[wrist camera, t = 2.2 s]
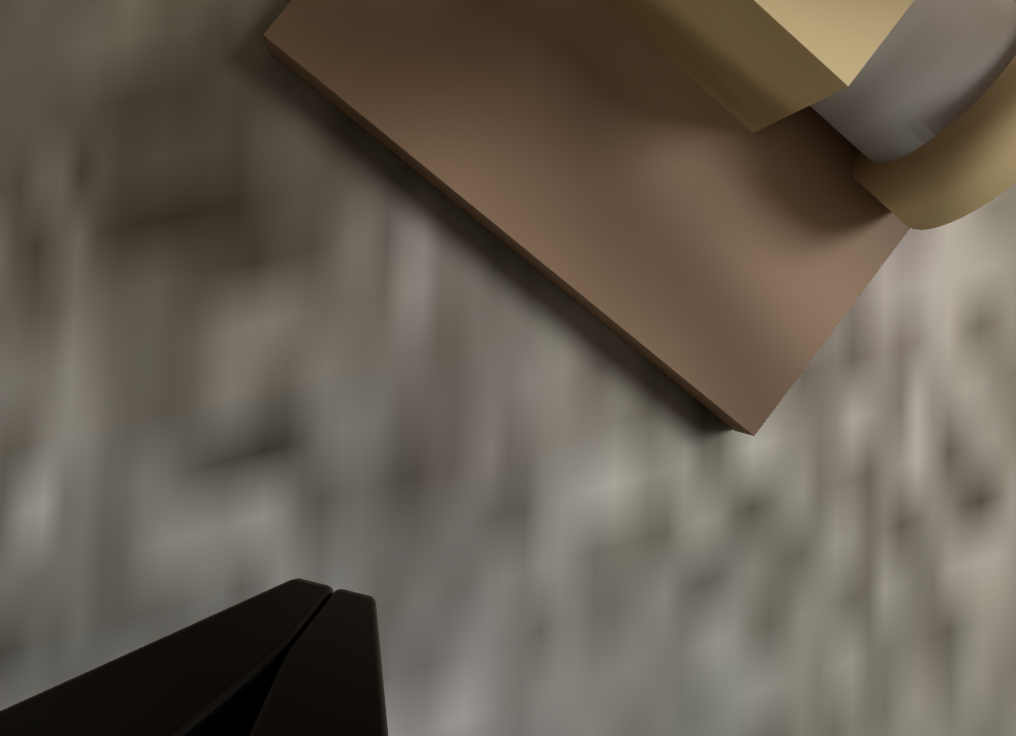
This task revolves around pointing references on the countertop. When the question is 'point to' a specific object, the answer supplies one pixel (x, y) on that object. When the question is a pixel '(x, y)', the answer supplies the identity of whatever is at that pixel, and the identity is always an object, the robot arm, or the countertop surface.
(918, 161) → the valve stand
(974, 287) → the countertop surface
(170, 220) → the countertop surface
